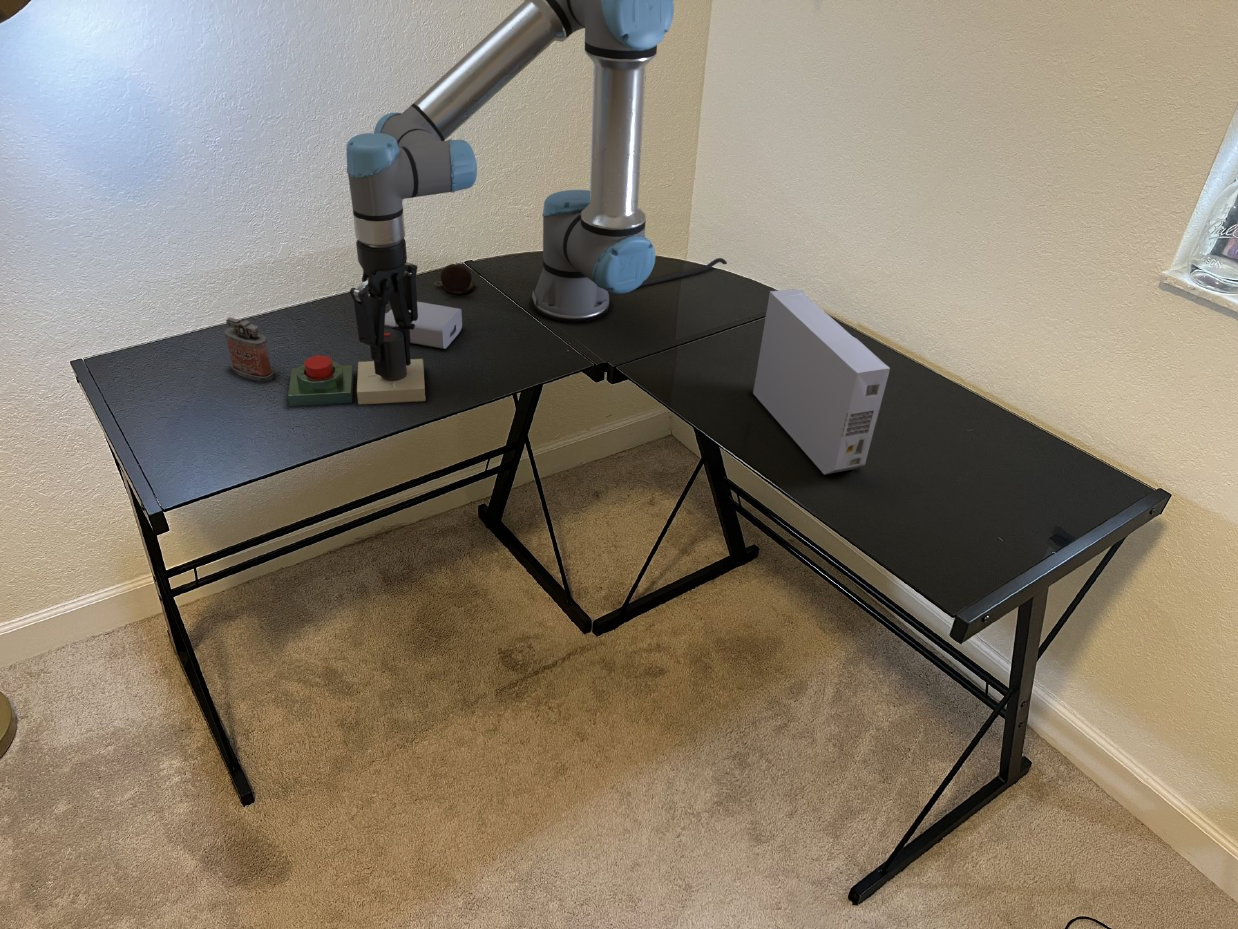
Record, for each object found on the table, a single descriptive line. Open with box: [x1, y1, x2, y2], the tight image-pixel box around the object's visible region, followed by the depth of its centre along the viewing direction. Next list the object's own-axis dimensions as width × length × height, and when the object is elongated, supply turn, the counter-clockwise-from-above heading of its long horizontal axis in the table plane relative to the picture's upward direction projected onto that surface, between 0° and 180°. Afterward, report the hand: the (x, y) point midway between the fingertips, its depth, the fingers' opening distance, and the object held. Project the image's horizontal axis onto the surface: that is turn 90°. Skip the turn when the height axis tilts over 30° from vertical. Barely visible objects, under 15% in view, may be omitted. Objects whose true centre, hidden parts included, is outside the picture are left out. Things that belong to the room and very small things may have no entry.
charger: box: [384, 301, 463, 350], centre depth 177 cm, size 5×9×15 cm
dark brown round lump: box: [434, 261, 475, 295], centre depth 192 cm, size 8×8×7 cm
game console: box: [752, 288, 891, 475], centre depth 152 cm, size 6×27×20 cm, turn 20°
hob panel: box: [356, 358, 426, 405], centre depth 162 cm, size 11×10×3 cm
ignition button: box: [304, 355, 333, 379], centre depth 157 cm, size 4×4×2 cm
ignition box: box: [287, 360, 355, 408], centre depth 159 cm, size 10×9×4 cm
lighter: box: [223, 316, 274, 382], centre depth 160 cm, size 8×3×10 cm, turn 65°
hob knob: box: [381, 328, 407, 381], centre depth 159 cm, size 4×4×8 cm
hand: (393, 368), depth 160 cm, fingers closed on hob knob, 4 cm apart
